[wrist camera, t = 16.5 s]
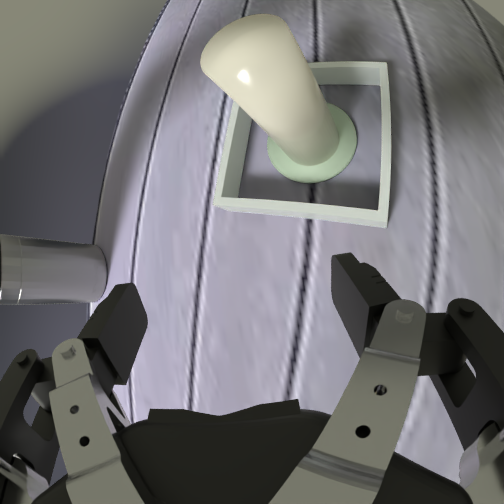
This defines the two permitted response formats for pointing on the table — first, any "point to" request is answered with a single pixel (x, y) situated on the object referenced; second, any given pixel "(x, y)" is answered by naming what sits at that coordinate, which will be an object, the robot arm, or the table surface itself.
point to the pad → (324, 169)
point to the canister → (273, 85)
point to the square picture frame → (230, 190)
